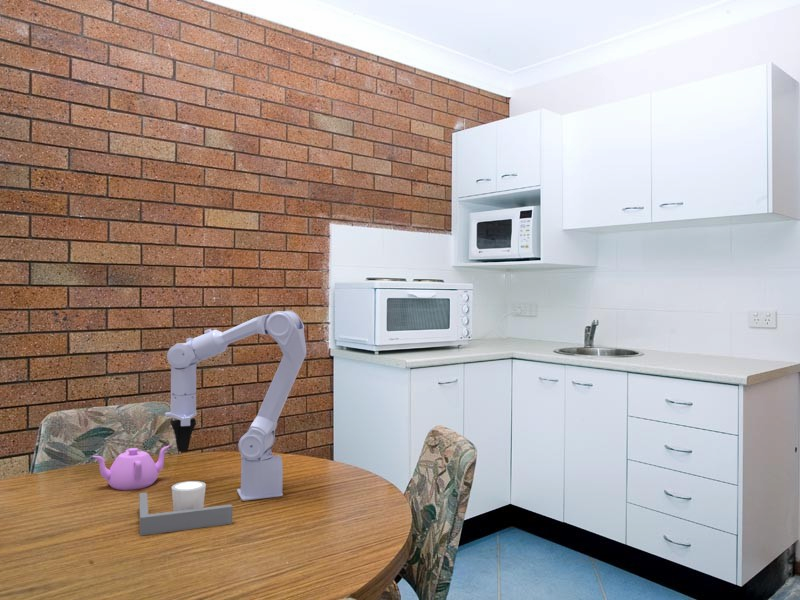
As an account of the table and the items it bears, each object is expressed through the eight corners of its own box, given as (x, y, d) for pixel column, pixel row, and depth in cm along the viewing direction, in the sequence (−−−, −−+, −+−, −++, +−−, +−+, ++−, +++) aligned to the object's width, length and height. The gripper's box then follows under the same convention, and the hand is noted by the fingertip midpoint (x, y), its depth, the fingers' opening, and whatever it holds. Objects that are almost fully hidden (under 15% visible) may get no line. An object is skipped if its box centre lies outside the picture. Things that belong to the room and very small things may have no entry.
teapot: (170, 478, 156) (170, 444, 156) (133, 495, 143) (133, 458, 143) (130, 474, 159) (131, 440, 159) (91, 490, 146) (91, 453, 146)
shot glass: (195, 525, 125) (195, 491, 124) (164, 523, 126) (164, 489, 126) (211, 513, 131) (211, 481, 131) (181, 511, 132) (182, 479, 132)
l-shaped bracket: (221, 499, 140) (222, 484, 140) (232, 523, 126) (232, 506, 126) (139, 509, 133) (139, 493, 133) (140, 535, 119) (140, 517, 119)
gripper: (164, 389, 150) (163, 445, 150) (167, 399, 137) (166, 459, 137) (194, 388, 153) (193, 442, 153) (200, 397, 140) (199, 456, 140)
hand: (182, 450), depth 145 cm, fingers closed
